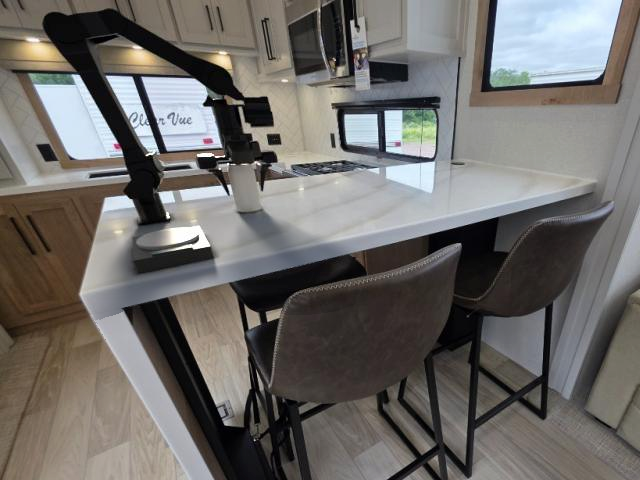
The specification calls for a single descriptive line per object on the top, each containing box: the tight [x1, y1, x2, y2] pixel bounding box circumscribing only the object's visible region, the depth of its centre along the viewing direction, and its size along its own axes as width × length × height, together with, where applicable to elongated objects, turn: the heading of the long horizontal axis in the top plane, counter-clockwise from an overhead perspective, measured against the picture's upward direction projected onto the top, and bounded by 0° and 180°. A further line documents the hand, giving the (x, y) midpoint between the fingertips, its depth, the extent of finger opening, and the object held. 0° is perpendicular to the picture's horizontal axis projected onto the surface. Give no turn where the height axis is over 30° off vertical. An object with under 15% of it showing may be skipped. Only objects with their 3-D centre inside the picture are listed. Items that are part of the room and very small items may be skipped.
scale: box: [131, 225, 215, 274], centre depth 64 cm, size 14×12×3 cm
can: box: [227, 163, 262, 214], centre depth 88 cm, size 6×6×12 cm
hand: (245, 193), depth 89 cm, fingers closed on can, 8 cm apart
